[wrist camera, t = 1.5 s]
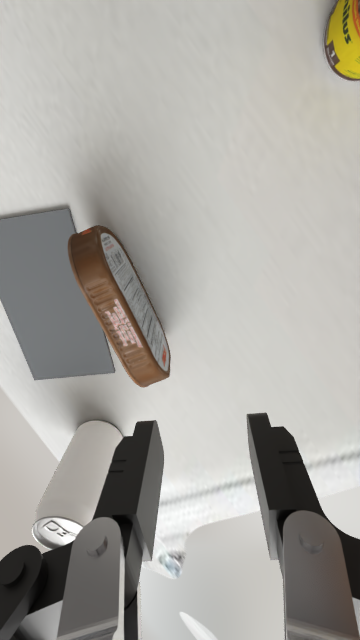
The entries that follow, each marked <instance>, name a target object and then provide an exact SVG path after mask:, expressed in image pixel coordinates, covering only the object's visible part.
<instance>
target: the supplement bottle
mask: <svg viewBox="0 0 360 640" xmlns="http://www.w3.org/2000/svg"><path fill="white" fill-rule="evenodd" d="M323 50H324V56H325V60H326V62H327V65H328V67H329V69H330V70H331V71H332V72H333V74H334V75H336V76H337V77H338V78H340V79H342V80H345V81H350V82H357V81H360V0H337V2H336V3H335V5H334V7H333V9H332V11H331V13H330V15H329V17H328V20H327V23H326V26H325V31H324V38H323Z"/></svg>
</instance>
